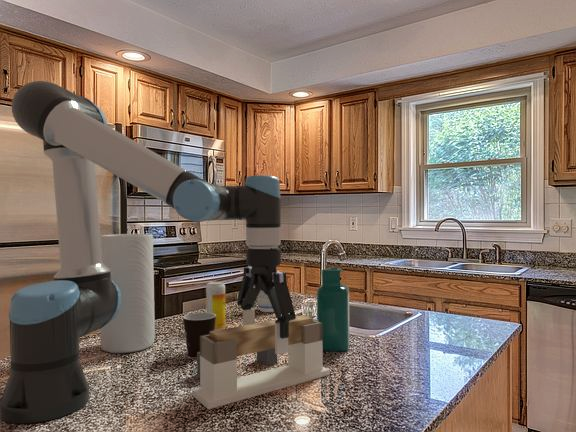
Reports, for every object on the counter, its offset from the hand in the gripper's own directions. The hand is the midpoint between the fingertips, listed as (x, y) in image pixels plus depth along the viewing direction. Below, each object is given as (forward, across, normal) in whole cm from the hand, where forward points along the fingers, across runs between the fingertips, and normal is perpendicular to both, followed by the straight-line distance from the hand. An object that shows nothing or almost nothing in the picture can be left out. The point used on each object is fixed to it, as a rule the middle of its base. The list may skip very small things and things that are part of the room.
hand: (264, 345), depth 93 cm
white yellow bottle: (+9, +48, -11) cm, 50 cm away
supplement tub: (+9, +61, -40) cm, 73 cm away
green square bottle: (+9, +11, -29) cm, 32 cm away
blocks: (+8, +12, 0) cm, 15 cm away
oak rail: (0, 0, 0) cm, 0 cm away
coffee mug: (+9, +29, +2) cm, 30 cm away
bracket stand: (+8, 0, 0) cm, 8 cm away
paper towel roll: (+9, +46, +17) cm, 50 cm away
